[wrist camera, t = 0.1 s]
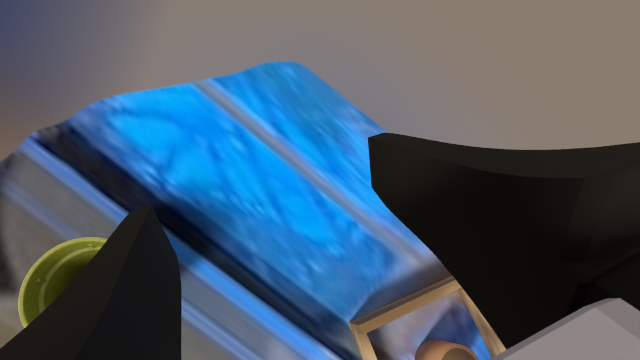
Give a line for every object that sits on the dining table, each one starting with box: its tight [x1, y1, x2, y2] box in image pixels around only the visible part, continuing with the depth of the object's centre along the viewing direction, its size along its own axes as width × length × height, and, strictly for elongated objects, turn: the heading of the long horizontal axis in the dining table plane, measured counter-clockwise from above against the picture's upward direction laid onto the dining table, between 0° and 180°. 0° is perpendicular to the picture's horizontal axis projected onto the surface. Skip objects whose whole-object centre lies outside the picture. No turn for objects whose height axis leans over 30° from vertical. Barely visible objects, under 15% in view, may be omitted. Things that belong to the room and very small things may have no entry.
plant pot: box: [18, 237, 108, 328], centre depth 34 cm, size 9×9×9 cm
